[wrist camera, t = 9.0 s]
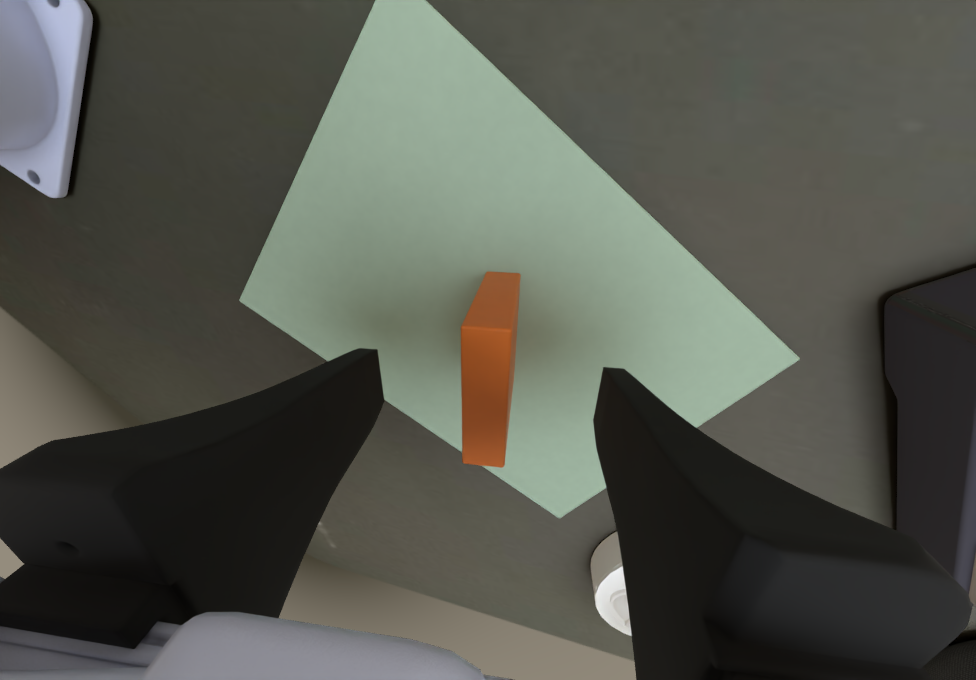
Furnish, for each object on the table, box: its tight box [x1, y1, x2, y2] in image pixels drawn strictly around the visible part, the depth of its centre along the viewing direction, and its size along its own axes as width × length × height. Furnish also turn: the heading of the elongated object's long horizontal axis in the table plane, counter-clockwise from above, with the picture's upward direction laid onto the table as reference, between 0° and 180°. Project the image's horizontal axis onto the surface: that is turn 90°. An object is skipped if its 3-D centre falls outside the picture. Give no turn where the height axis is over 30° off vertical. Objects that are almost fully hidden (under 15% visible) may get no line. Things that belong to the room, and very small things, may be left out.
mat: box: [239, 0, 800, 518], centre depth 16 cm, size 20×14×1 cm
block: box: [461, 272, 521, 468], centre depth 13 cm, size 1×5×6 cm, turn 179°
